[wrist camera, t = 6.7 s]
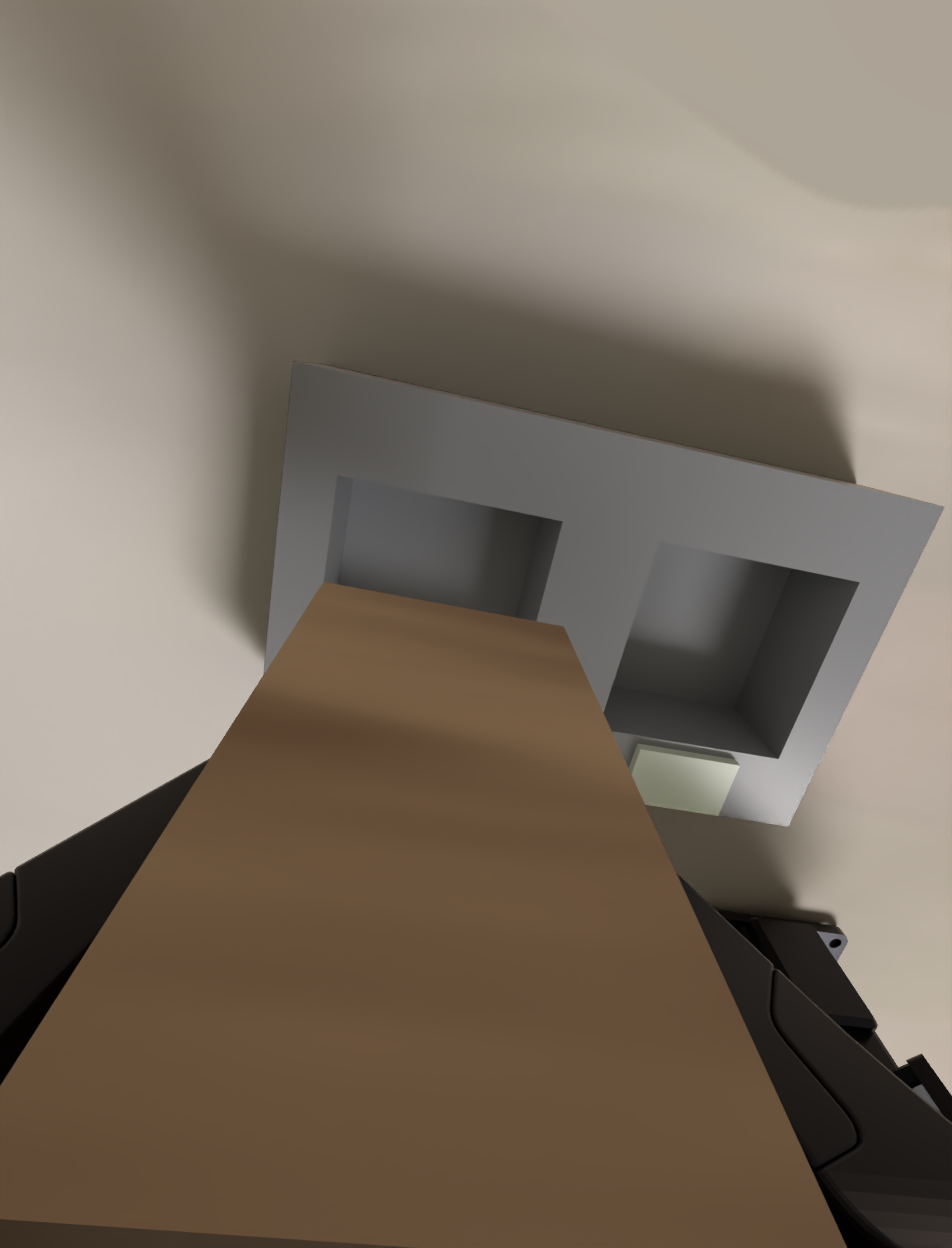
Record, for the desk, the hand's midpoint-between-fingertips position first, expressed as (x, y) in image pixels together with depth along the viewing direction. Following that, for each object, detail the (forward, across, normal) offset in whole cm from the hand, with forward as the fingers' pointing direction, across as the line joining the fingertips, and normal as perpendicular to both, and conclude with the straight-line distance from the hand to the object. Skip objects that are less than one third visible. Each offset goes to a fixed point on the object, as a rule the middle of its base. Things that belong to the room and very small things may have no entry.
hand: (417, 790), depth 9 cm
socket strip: (+11, -4, 0) cm, 12 cm away
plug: (+2, 0, 0) cm, 2 cm away
